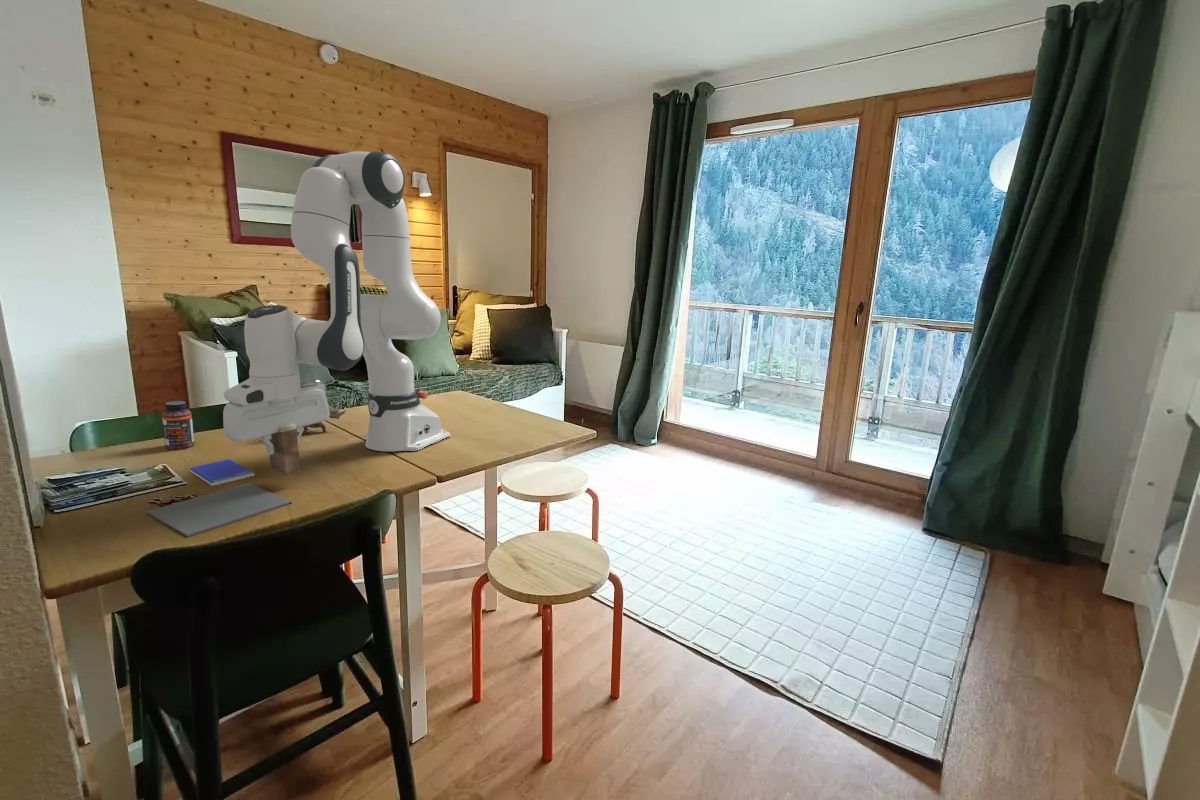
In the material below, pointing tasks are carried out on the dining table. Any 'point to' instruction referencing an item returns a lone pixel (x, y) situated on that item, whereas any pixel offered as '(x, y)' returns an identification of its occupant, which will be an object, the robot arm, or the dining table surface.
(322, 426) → the rhinoceros figurine
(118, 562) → the dining table surface
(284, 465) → the block
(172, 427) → the supplement bottle
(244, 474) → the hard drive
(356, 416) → the dining table surface
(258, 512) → the mat
